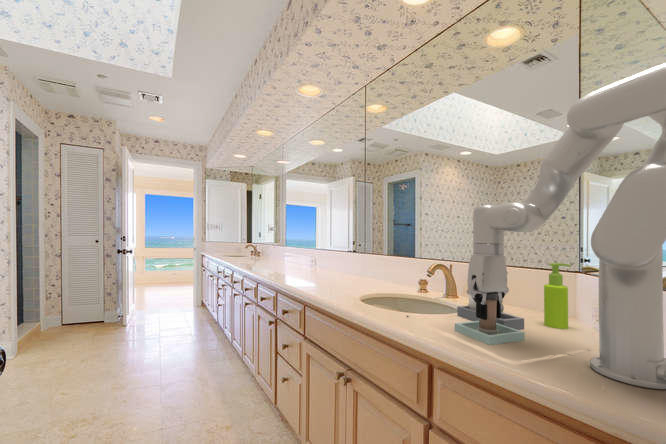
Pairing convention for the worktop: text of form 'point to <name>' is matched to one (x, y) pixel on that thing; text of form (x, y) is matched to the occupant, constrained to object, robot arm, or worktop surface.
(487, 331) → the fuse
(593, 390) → the worktop surface
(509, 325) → the fuse holder
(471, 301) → the fuse
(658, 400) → the worktop surface
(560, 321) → the soap dispenser
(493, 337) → the parts tray
